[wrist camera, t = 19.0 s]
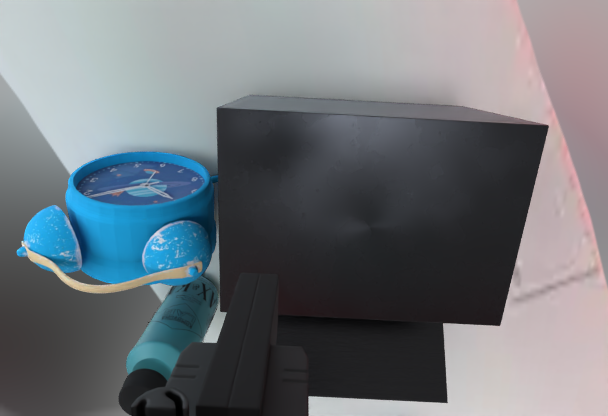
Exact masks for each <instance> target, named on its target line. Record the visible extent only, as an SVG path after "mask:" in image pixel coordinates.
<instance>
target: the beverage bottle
mask: <svg viewBox="0 0 608 416" xmlns="http://www.w3.org/2000/svg"><path fill="white" fill-rule="evenodd" d="M167 295H168V296H166V299H165V300H164V302H163V303H162V305H161V306H160V308H159V309H158V311H157V312H156V314H155V315H154V317H153V318H152V320H151V321H150V323H149V322H148V323H149V325H148V327H147V328H146V330H145V331H144V333H143V334H142V336H141V338H140V339H139V341H138V342H137V344H136V346H135V347H134V348H133V349H132V350H131V352H130V353H129V355H128V358H127V361H126V367H127V372H128V374H129V375H128V376H127V378H126V380H125V382H124V384H123V387H122V389H121V391H120V393H119V404H120V406H121V407H122V409H123V410H124V411H125V412H126V413H128V414H129V415H131V405H132V404H133V403H134V401H135V400H136V399H137V398H138V397H139V396H141V395H142V394H144V393H145V392H147V391H149V390H152V389H155V388H158V387H165V386H166V384H167V382H168V379H169V378H170V376H171V373H172V371H173V368H174V367H175V364H176V362H177V360H178V357H179V355H180V353H181V352H182V351H183V350H184V349H185V348H186V347H187V346H188V345H189V344H191V343H192V342H202V341H203V342H204V340H203V338H204V336H205V334H206V333H207V332H208V331H207V329H208V328H209V327H210V326H209V325H211V324H210V323H211V321H212V320H213V317H214V315H213V314H215V313H214V312H216V311H215V309H216V310H217V308H216V307H217V304H218V296H219V295H218V292H217V289H216V287H215V286H214V285H213V283H212V282H210V281H209V280H208V279H206V278H204V277H201V276H200V277H199V278H197V279H196V280H194V281H193V282H190V283H188V284H184V285H178V286H173V287H171V290H170V292H169V294H167ZM208 330H209V329H208ZM131 416H132V415H131Z"/></svg>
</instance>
